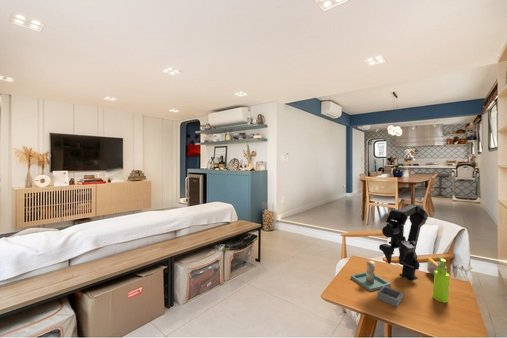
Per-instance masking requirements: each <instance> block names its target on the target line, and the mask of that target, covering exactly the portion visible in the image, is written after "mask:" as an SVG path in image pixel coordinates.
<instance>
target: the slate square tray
mask: <svg viewBox="0 0 507 338" xmlns="http://www.w3.org/2000/svg"><path fill="white" fill-rule="evenodd" d="M376 295H377V300H379V301H382V302H384V303H387V304H389V305H390V306H391V305H392V306H394V307H396V308H398V306H399V305H400V303H401V302H402V301H403V300H404V299H403V298H404V292H401V291H399V290H396V289H394V288H391V287H386V286H383V287H382V288H381V289H378V290H377V294H376Z"/></svg>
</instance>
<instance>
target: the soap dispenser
mask: <svg viewBox="0 0 507 338" xmlns="http://www.w3.org/2000/svg"><path fill="white" fill-rule="evenodd" d="M436 258H437V259H438V260H439V261H440V263H439V264H438V270H436V271H434V276H433V287H432V298H433V299H434V300H436V302H440V303H449V288H450V275H451V274H450V273H448V272H447V269H448V268H447V266H446V263H447V260H446V259H445V258H444V257H440V256H437V257H436Z"/></svg>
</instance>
